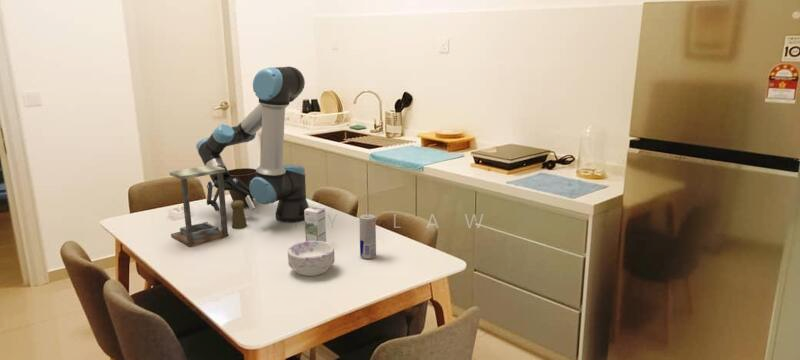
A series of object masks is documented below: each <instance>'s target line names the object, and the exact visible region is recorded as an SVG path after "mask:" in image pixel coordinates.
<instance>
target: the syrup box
mask: <svg viewBox="0 0 800 360" xmlns="http://www.w3.org/2000/svg"><path fill="white" fill-rule="evenodd" d="M304 215H305V221H304V231H305V241H323V242H327V228H326V227H327V226H326V225H327V224H326V208H325V207H320V206H314V205H313V206H309V208H307V209H305V210H304Z"/></svg>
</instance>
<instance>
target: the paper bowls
mask: <svg viewBox="0 0 800 360" xmlns="http://www.w3.org/2000/svg"><path fill="white" fill-rule="evenodd" d="M335 259H336V257H335V247H334V245H333V244H331V243H329V242H327V241H326V242H323V241H306V240H305V241H300V242H296V243H295V244H292V245H291V246H290V247H289V248H288V250H287V263H288V264H287V265H288V266H289V267H290V268H291V269H292V270H295V271H296V273H297V274H299V275H301V276H306V277H313V276H319V275H322V274H324V273H326V271H328V269H329V268H330V267H332V265H334V263H335Z"/></svg>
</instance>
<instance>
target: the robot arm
mask: <svg viewBox="0 0 800 360" xmlns="http://www.w3.org/2000/svg"><path fill="white" fill-rule="evenodd" d="M305 83H306V80H305V77H304V75H303V73H302V72H301V71H300V70H299V69H297V68H296V67H293V66H279V67H277V66H275V67H267V68H263V69H261V70H259V71H258V72H257V73H256V74H255V76H254V77H253V81H252V90H253V92H254V93H255V94H254V95H255V96H256V97H257V98H258V104H257V106H255V107H254V109H253V110H251V112H250V113H249V114H248V115H247V116H246V117H244V119H242V121H241V122H239V124H238V125H235V126H230V125H228V124H224V123H222V124H219V125H218V126H217V127H216V128H215V129H213V131H212V133H211V134H210V135H209V137H205V138H202V139H201V140H199V141H198V142H197V143H196V145H195V148H196V150H197V153H198V155H199V157H200V159H201V161H202V164H203V166H209V165H215V166H218V167H221V168H224V169H225V172H223V180H224V192H225V191H229V190H230V189H231V190H232V191H233V190H234V191H236V192H237V193H239V194H241V195H243V196H245V197H246V198H245V200H246V202H247V204H248V206H247V207H248V208H249V209H250V211H251V212H254V210H255V209H256V207H255V205H254V201H256V202H257V203H258V204H260V205H264V206H265V205H269V204H274V203H275V202H277V205H276V206H277V207H276V211H275V212H274V213H275V220H276V221H278V222H280V223H286V224H287V223H289V224H291V223H300V222H305V215H304V210H305V209H307V208H309V207H310V205H309V202H308V201H307V189H306V188H307V187H306V171H305V167H303V166H302V165H297V164H283V160H284V159H283V157H284V154H283V153H284V141H285V139H284V135H285V121H286V118H285V116H286V108H287V107H288V106H290V103H292V102H293V101H295V100H296V99H297V98H298V97H299V96H301V94H302V93H303V90H304V89H305ZM260 129H261V135H260V136H261V137H260V157H259V158H260V160H259V161H260V162H259V163H260V164H259V166H258V167H257V168H256V177H255V178H253V179H252V180H251V182H250V185H249V187H248V186H247V185H246V184H244V183H243V182H242V181H241V180H240V179H239V177H236V178H234V179H232V178H231V177H230V174H229V172H228V170H229V169H228V168H227V165H226V164H225V161H224V160H223V158H222V155H221V153H222V152H223V151H224V150H225V148H227V147H231V146H234V145H239V144H243V143H244V144H245V143H249V142H250V141H253V140H255V138H256V136H257V132H258V131H260ZM209 177H210V179H211V181H212V182H211V181H208V182H207V185H206V188H207V197H206V205H207V206H211V207H213V209H214V211H215V212H217V213H218V215H219V217H220V218H221V214H220V202H219V201H218V200H217V199H219V191H218V179H217V173H216V174H211V175H209ZM233 182H235V183H233ZM236 184H237V185H238V186H237V185H236ZM232 186H233V187H232ZM214 187H215V188H217V189H216V192H215V194H214V197H213V199H212V196H213V188H214ZM251 196H252V197H254V199H252V197H251Z"/></svg>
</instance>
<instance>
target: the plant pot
mask: <svg viewBox="0 0 800 360" xmlns="http://www.w3.org/2000/svg"><path fill="white" fill-rule="evenodd" d="M256 169H257V168H256ZM256 169H255V168H245V167H244V168H243V167H242V168H241V167H240V168H234V169H227V170H228V172H229V174H230V177H231V178H232V179H234V178H236V177H239V179H240V180H241V181H242V182H243V183H244V184H246V185H247V186H248V187H249V185H250V182H251V180H252V179H253V178H255V177H256ZM233 183H235V182H233ZM236 185H237V184H236ZM237 186H238V185H237ZM232 187H233V186H232ZM228 192H229V195H230V197H231V200H232V202H233V201H237V200H241V201H243V202H244V208H247V207H249V206H248V204H247V202H246V200H245V198H246V197H245V196H243V195H241V194H239V193H237V192H236V191H234V190H233V191H232V190H231V189H230V190H228ZM251 197H252V196H251ZM252 199H253V200H255V199H254V197H252Z"/></svg>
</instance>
